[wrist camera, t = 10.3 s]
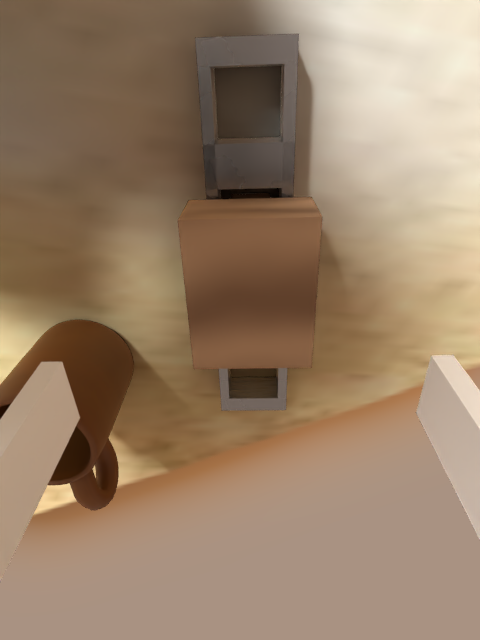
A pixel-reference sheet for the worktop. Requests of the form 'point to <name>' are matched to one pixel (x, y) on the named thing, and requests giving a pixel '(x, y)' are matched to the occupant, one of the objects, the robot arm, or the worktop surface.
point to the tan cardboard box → (251, 280)
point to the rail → (249, 167)
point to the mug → (83, 402)
